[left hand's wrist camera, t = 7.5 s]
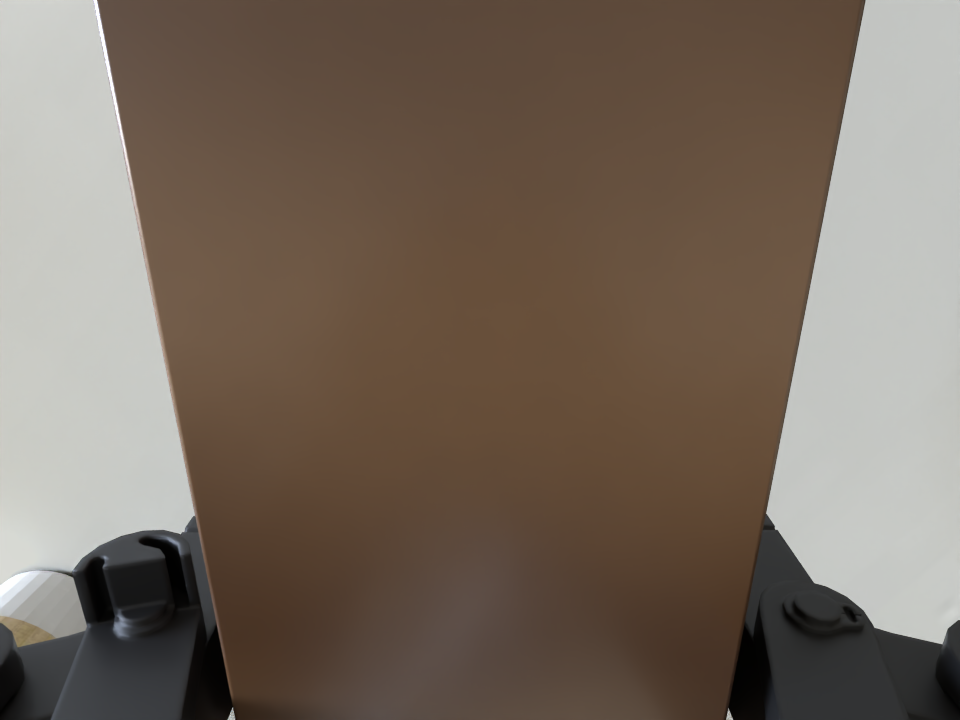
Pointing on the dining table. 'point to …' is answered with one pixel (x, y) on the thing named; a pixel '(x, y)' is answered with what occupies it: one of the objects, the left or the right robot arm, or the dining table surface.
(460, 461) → the post
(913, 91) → the dining table surface
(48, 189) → the dining table surface
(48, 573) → the coffee cup
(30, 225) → the dining table surface
